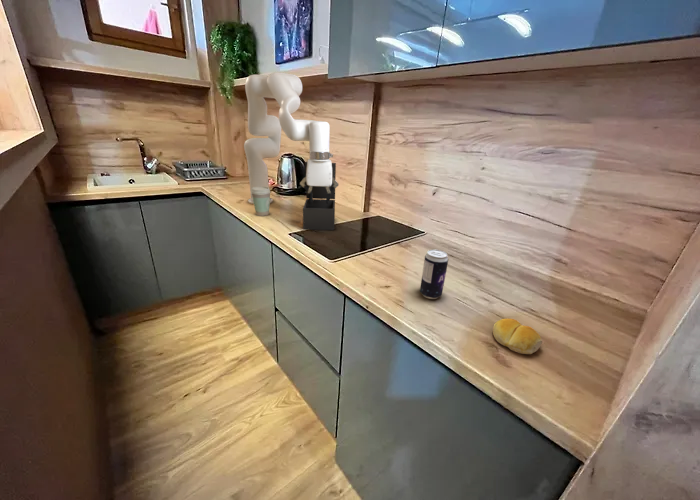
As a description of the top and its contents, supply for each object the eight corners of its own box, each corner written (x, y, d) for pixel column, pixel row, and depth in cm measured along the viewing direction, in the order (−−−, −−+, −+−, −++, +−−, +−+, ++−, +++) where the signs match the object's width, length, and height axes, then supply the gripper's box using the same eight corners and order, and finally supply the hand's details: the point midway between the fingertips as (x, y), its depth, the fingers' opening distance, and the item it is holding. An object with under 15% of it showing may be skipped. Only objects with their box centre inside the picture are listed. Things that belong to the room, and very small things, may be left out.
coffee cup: (269, 217, 136) (267, 190, 131) (250, 216, 136) (247, 189, 131) (274, 211, 144) (272, 186, 139) (256, 211, 144) (254, 185, 139)
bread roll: (503, 323, 70) (507, 308, 68) (544, 345, 63) (550, 329, 61) (482, 335, 65) (487, 320, 64) (524, 361, 58) (530, 344, 57)
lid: (335, 163, 124) (335, 162, 125) (304, 162, 123) (305, 161, 124) (335, 199, 134) (335, 198, 135) (306, 198, 133) (306, 197, 134)
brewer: (334, 230, 124) (334, 209, 120) (303, 229, 123) (302, 208, 120) (334, 218, 138) (335, 199, 135) (306, 218, 137) (306, 198, 134)
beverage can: (437, 303, 76) (445, 260, 72) (416, 296, 79) (422, 254, 74) (444, 293, 81) (451, 252, 76) (423, 287, 83) (429, 247, 79)
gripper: (341, 156, 120) (340, 201, 127) (297, 154, 119) (299, 199, 126) (342, 158, 113) (340, 205, 120) (295, 156, 112) (296, 204, 119)
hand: (319, 202), depth 123 cm, fingers open, 5 cm apart
